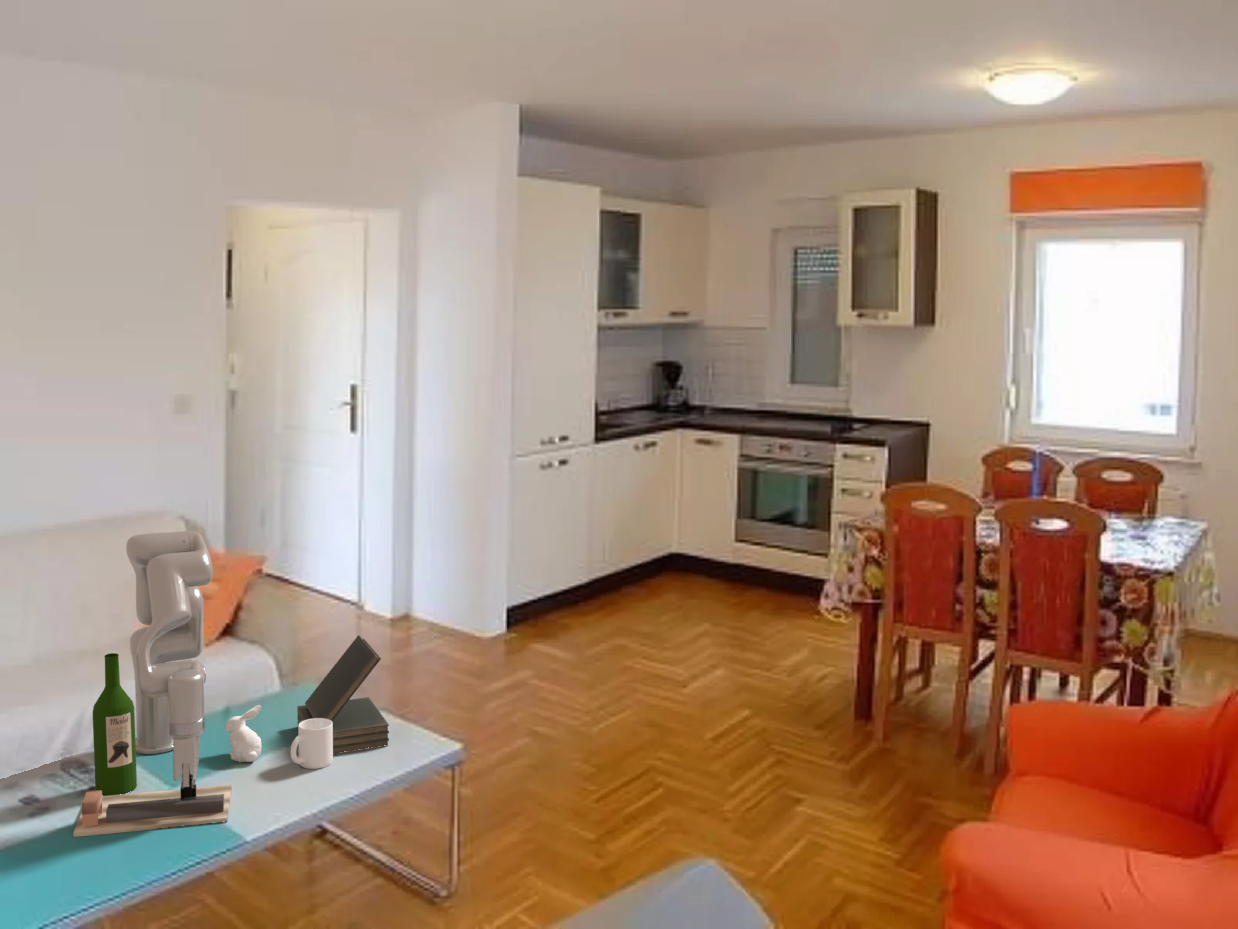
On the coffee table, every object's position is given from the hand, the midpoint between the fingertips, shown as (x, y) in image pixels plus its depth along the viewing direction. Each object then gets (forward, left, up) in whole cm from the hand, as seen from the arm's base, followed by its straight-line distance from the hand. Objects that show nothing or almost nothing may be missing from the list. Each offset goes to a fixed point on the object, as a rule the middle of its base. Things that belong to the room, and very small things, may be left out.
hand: (188, 803), depth 250 cm
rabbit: (-29, +11, -2) cm, 31 cm away
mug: (-19, +27, -2) cm, 33 cm away
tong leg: (+3, -4, 0) cm, 5 cm away
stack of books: (-38, +35, -2) cm, 52 cm away
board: (0, -7, -2) cm, 7 cm away
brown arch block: (+4, -19, 0) cm, 20 cm away
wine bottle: (-15, -17, -2) cm, 23 cm away
